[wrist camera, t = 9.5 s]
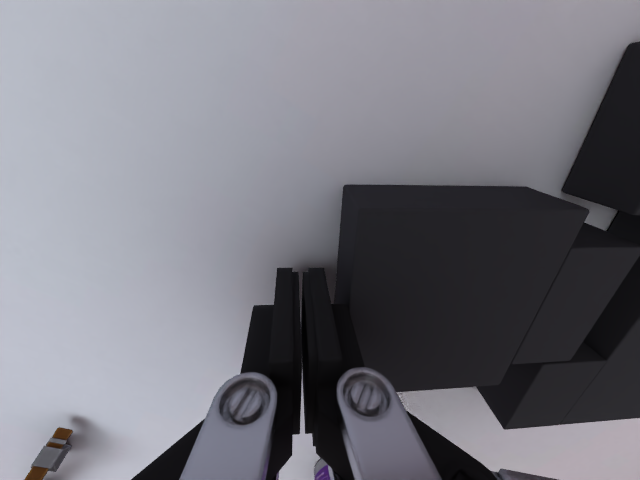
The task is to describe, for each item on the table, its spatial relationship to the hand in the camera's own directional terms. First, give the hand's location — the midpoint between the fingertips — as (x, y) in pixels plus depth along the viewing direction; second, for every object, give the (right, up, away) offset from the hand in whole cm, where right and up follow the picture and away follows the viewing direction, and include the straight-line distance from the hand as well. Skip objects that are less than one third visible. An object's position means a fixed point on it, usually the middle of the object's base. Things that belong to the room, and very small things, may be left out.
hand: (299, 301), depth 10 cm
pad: (+6, +1, +2) cm, 6 cm away
